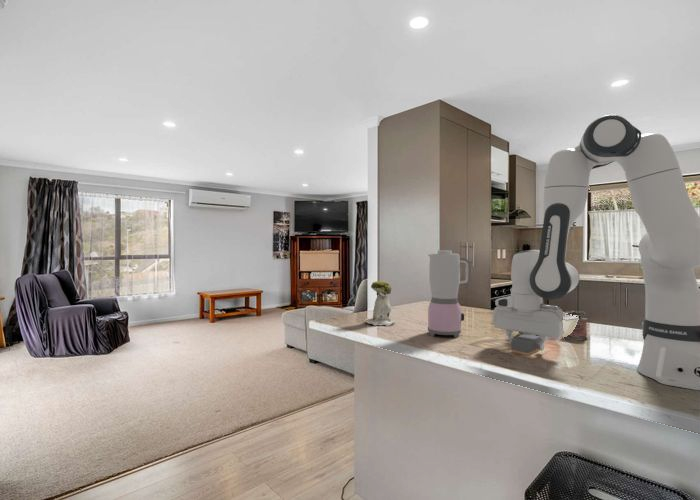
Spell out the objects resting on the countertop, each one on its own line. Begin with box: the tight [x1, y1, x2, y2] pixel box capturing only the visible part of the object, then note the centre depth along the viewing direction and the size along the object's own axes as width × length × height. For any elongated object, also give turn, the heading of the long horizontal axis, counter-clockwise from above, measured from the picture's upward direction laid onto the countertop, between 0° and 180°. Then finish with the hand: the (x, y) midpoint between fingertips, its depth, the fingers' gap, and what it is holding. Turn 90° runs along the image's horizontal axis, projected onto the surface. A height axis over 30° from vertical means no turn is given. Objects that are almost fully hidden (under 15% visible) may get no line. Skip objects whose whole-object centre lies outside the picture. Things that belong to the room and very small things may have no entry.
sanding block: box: [512, 334, 541, 355], centre depth 115 cm, size 5×9×4 cm, turn 132°
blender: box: [427, 249, 471, 339], centre depth 141 cm, size 16×12×32 cm
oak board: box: [464, 336, 552, 360], centre depth 119 cm, size 22×14×2 cm, turn 42°
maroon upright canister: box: [563, 310, 588, 341], centre depth 135 cm, size 8×3×10 cm, turn 76°
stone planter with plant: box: [365, 280, 396, 327], centre depth 161 cm, size 12×13×18 cm
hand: (526, 347), depth 115 cm, fingers open, 7 cm apart
